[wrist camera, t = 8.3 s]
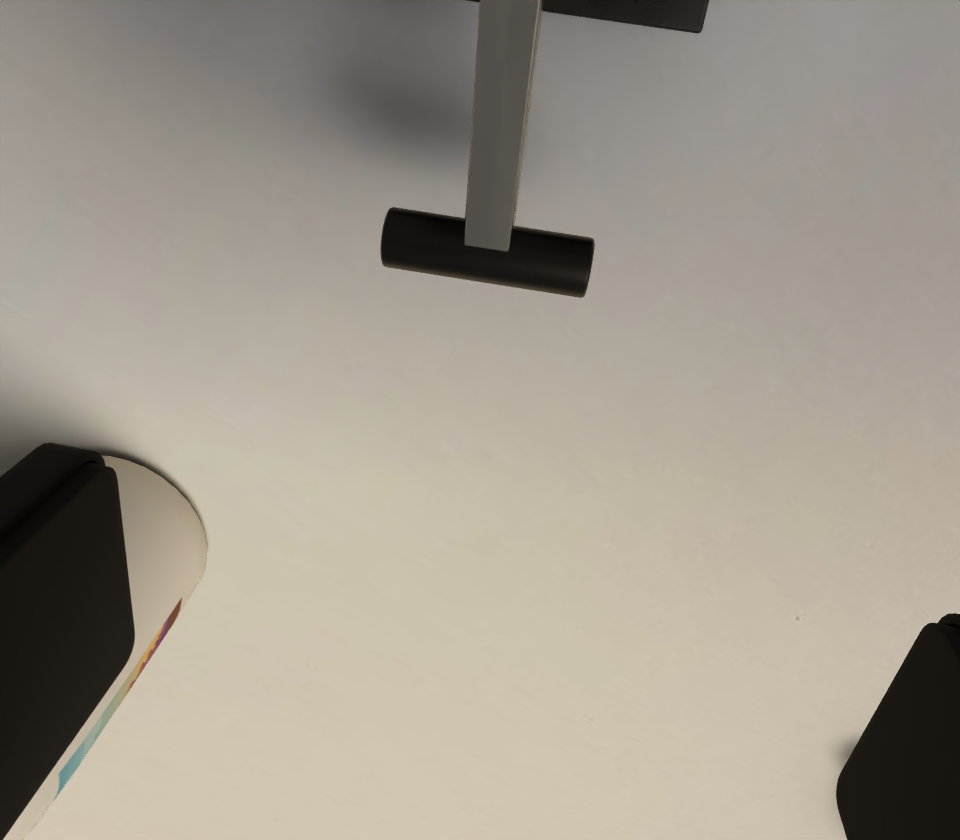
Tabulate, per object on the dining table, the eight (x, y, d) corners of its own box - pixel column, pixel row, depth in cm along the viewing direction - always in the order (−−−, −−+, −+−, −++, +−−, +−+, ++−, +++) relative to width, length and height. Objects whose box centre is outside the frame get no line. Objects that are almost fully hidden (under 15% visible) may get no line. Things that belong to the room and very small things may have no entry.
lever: (587, 260, 20) (581, 323, 18) (397, 231, 20) (376, 291, 19) (771, -550, 10) (789, -557, 8) (387, -592, 10) (337, -608, 9)
